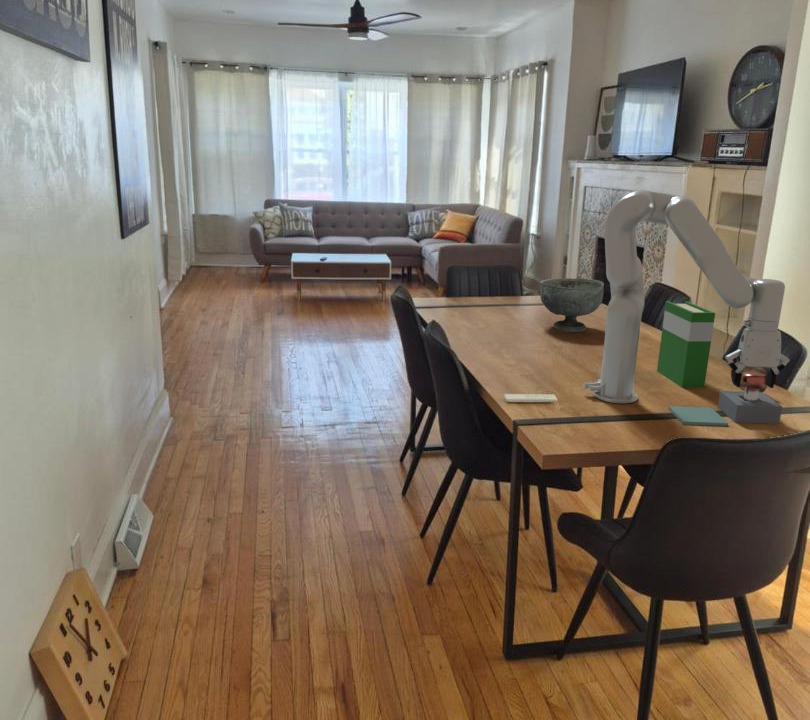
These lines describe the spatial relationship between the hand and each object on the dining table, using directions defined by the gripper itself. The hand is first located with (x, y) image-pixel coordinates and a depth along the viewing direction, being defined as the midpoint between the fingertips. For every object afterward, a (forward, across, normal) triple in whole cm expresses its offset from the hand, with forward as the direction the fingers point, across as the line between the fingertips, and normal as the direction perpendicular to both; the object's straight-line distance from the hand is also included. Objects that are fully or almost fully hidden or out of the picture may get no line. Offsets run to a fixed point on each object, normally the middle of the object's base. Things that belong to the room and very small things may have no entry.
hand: (752, 385), depth 195 cm
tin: (+9, +10, +24) cm, 27 cm away
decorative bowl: (+9, -32, +100) cm, 105 cm away
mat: (+9, -15, -3) cm, 18 cm away
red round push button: (+9, 0, 0) cm, 9 cm away
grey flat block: (+9, 0, 0) cm, 9 cm away
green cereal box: (+9, -8, +33) cm, 35 cm away
